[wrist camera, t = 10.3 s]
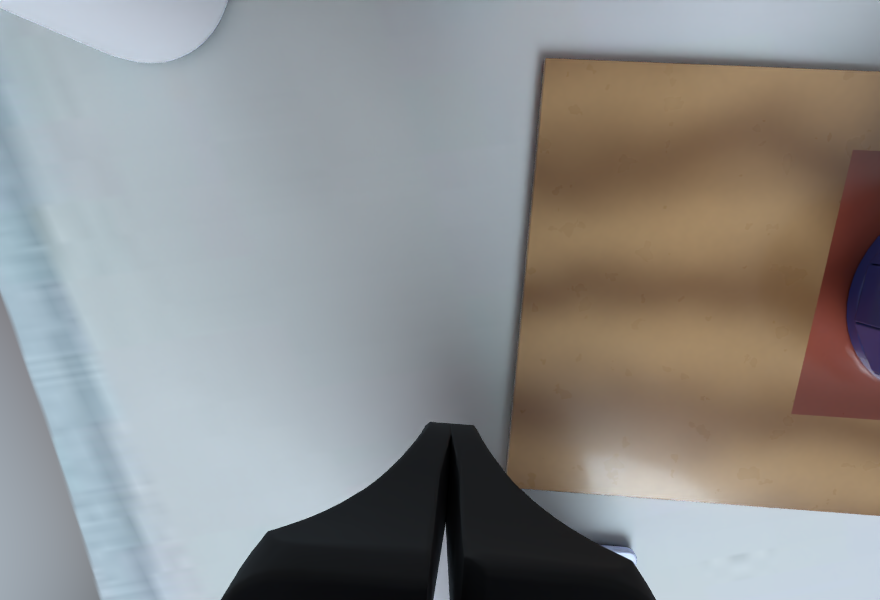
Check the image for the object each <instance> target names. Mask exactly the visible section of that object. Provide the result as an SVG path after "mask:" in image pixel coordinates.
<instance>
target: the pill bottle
mask: <svg viewBox="0 0 880 600" xmlns="http://www.w3.org/2000/svg"><path fill="white" fill-rule="evenodd" d="M227 2H228V0H0V8H1V9H3V10H5V11H8V12H10V13H12V14H15V15H17V16H19V17H22V18H24V19H26V20H29V21H31V22H34V23H36V24H38V25H41V26H43V27H45V28H48V29H50V30H52V31H55V32H57V33H59V34H62V35H64V36H66V37H69V38H71V39H73V40H76V41H78V42H81V43H83V44H85V45H88V46H90V47H92V48H95V49H97V50H99V51H102V52H104V53H106V54H109V55H112V56H115V57H119V58H122V59H125V60H129V61H134V62H140V63H162V62H168V61H172V60H175V59H178V58H181V57H183V56H185V55H187V54H189V53H191V52H192V51H194V50H195V49H197V48H198V47H199V46H200V45H202V44H203V43H204V42H205V41H206V40H207V39H208V38H209V36H210V35H211V34H212V33H213V31H214V30H215V29H216V27H217V25H218V24H219V22H220V20H221V18H222V16H223V14H224V11H225V9H226V6H227Z"/></svg>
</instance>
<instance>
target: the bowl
mask: <svg viewBox="0 0 880 600" xmlns="http://www.w3.org/2000/svg"><path fill="white" fill-rule="evenodd" d="M846 320H847V328H848V333H849V337H850V340H851V344H852V346H853V348H854V350H855V352H856V355H857V356H858V358H859V359H860V361H861V362H862V364H863V365H864V366H865V367H866V368H867V369H868V370H869V371H870V373H871V374H872V375H874V376H875V377H876V378H877V379H879V380H880V235H879V236H878V237H877V238H876V239H875V241H874V242H873V243H872V245H871V246H870V247H869V248H868V250H867V251H866V253H865V255H864V256H863V258H862V260H861V261H860V263H859V265H858V267H857V270H856V272H855V274H854V276H853V279H852V282H851V286H850V289H849V294H848V299H847V310H846Z"/></svg>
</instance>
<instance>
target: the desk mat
mask: <svg viewBox="0 0 880 600" xmlns="http://www.w3.org/2000/svg"><path fill="white" fill-rule="evenodd" d="M879 235H880V71H856V70H832V69H807V68H782V67H758V66H733V65H708V64H683V63H659V62H634V61H609V60H584V59H560V58H546V59H545V60H544V66H543V77H542V87H541V98H540V109H539V120H538V131H537V142H536V152H535V163H534V174H533V185H532V196H531V206H530V217H529V228H528V239H527V250H526V261H525V271H524V282H523V293H522V304H521V315H520V326H519V336H518V347H517V358H516V369H515V380H514V391H513V401H512V412H511V423H510V434H509V445H508V456H507V466H506V474H507V475H508V476H509V477H510V478H511V480H512V481H513V482H514V483H515V484H516V485H517V486H518V487H519V488H520V489H533V490H546V491H560V492H573V493H586V494H599V495H612V496H625V497H639V498H652V499H665V500H678V501H691V502H704V503H718V504H731V505H744V506H757V507H770V508H783V509H797V510H810V511H823V512H836V513H849V514H862V515H876V516H880V380H879V379H877V378H876V377H875V376H874V375H872V374H871V373H870V371H869V370H868V369H867V368H866V367H865V366H864V365H863V364H862V362H861V361H860V359H859V358H858V356H857V355H856V352H855V350H854V348H853V346H852V344H851V340H850V337H849V333H848V328H847V320H846V310H847V299H848V294H849V289H850V286H851V282H852V279H853V276H854V274H855V272H856V270H857V267H858V265H859V263H860V261H861V260H862V258H863V256H864V255H865V253H866V251H867V250H868V248H869V247H870V246H871V245H872V243H873V242H874V241H875V239H876V238H877V237H878V236H879Z"/></svg>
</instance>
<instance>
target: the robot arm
mask: <svg viewBox="0 0 880 600" xmlns="http://www.w3.org/2000/svg"><path fill="white" fill-rule="evenodd" d="M445 523H446V538H447V557H448V575H449V594H450V600H656V599H655V597H654V595H653V594H652V592H651V590H650V588H649V587H648V585H647V583H646V582H645V580H644V578H643V577H642V575H641V574H640V572H639V571H638V569H637V568H636V562H637V557H636V555H635V553H634V551H633V550H632V549H631V548H628V547H620V546H607V545H599V544H597V543H595V542H593V541H591V540H589V539H588V538H586V537H584V536H583V535H581V534H579V533H577V532H576V531H574V530H572V529H571V528H569V527H568V526H566V525H565V524H563V523H562V522H560V521H559V520H557V519H556V518H555V517H553V516H552V515H551V514H549V513H548V512H547V511H545V510H544V509H543V508H541V507H540V506H539V505H538V504H536V503H535V502H534V501H533V500H532V499H531V498H530V497H529V496H527V495H526V494H525V493H524V492H523V491H522V490H521V489H520V488H519V487H518V486H517V485H516V484H515V483H514V482H513V481H512V480H511V478H510V477H509V476H508V475H507V474H506V473H505V471H504V470H503V469H502V468H501V466H500V465H499V464H498V462H497V461H496V459H495V458H494V457H493V455H492V454H491V452H490V451H489V449H488V448H487V446H486V445H485V443H484V442H483V440H482V438H481V436H480V435H479V433H478V431H477V429H476V428H475V426H474V425H464V424H450V423H436V422H429V423H428V424H427V425H426V426H425V428H424V429H423V431H422V432H421V434H420V435H419V437H418V438H417V439H416V441H415V442H414V443H413V444H412V445H411V447H410V448H409V449H408V450H407V451H406V452H405V454H404V455H403V456H402V457H401V458H400V459H399V460H398V461H397V462H396V463H395V464H394V465H393V466H392V467H391V468H390V469H389V470H388V471H387V472H385V473H384V474H383V475H382V476H381V477H380V478H378V479H377V480H376V481H375V482H373V483H372V484H371V485H369V486H368V487H367V488H365V489H364V490H362V491H360V492H359V493H357V494H355V495H354V496H352V497H350V498H349V499H347V500H345V501H344V502H342V503H340V504H338V505H336V506H334V507H332V508H330V509H328V510H326V511H323V512H321V513H319V514H317V515H314V516H312V517H309V518H307V519H304V520H301V521H299V522H296V523H293V524H290V525H287V526H284V527H281V528H278V529H275V530H271V531H268V532H267V533H266V534H265V536H264V537H263V538H262V540H261V541H260V542H259V543H258V545H257V546H256V547H255V548H254V550H253V551H252V552H251V554H250V555H249V556H248V558H247V559H246V561H245V562H244V563H243V565H242V566H241V568H240V569H239V571H238V573H237V574H236V576H235V578H234V579H233V581H232V582H231V584H230V586H229V587H228V589H227V591H226V592H225V594H224V595H223V597H222V599H221V600H433V598H434V592H435V585H436V579H437V573H438V567H439V561H440V555H441V548H442V542H443V536H444V530H445Z"/></svg>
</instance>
